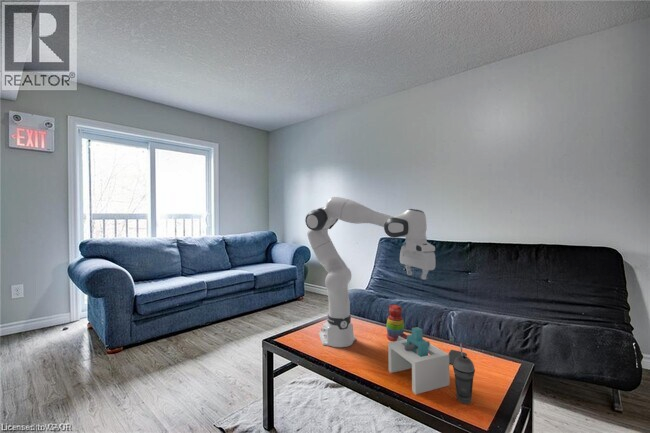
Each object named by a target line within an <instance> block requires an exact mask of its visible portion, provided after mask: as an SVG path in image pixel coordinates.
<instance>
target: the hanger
mask: <svg viewBox="0 0 650 433" xmlns="http://www.w3.org/2000/svg"><path fill="white" fill-rule="evenodd" d="M423 332H424V331H423V329H422V328H420V327H418V326H417V327H412V328H411V334H406V335H407V345H411V344H414V345H416V346H417V347H418V355H419V356H420V357H423V356H428V355H429V353H428V342H429V341H428V340H425V339H424V337H423V336H424V334H423ZM427 341H428V342H427ZM411 351H413V352H414V353H416V354H417V349H414V350H411ZM407 362H409V361H407ZM409 363H410V362H409Z"/></svg>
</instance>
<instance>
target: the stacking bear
mask: <svg viewBox="0 0 650 433" xmlns="http://www.w3.org/2000/svg"><path fill="white" fill-rule="evenodd" d="M388 311H389V315H388V317H387V320H386V326H385V327H386V332H387V333H386V338H387V340H389V342H390V341H391V342H395V341H397V338H398V336H400V337H402V338H404V339H407V335H408V334H406V333H404V331H405V323H404V319H403V316H402V311H403V310H402V306H400V305H397V304H393V305H392V304H390V305H389V308H388Z"/></svg>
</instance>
